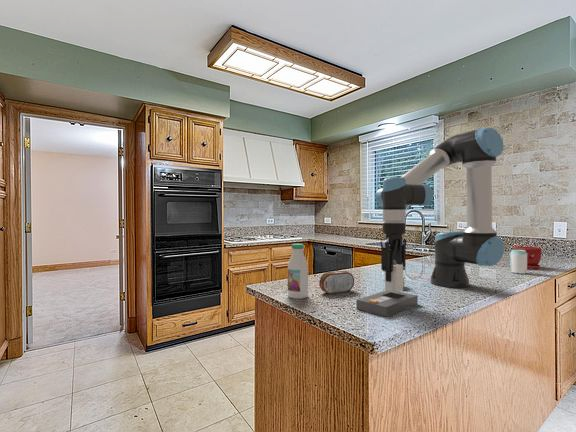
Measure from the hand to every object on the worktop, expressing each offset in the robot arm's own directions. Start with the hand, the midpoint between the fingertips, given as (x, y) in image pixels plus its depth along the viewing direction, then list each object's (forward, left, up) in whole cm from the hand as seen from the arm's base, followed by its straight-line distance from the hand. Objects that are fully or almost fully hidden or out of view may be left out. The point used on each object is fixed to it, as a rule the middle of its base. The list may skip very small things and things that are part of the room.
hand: (393, 289), depth 109 cm
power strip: (+4, 0, -5) cm, 6 cm away
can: (-98, +15, -5) cm, 99 cm away
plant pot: (-120, +14, -5) cm, 121 cm away
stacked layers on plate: (-23, -12, -6) cm, 27 cm away
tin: (+2, -23, -5) cm, 24 cm away
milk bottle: (+18, -29, -5) cm, 35 cm away
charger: (0, 0, 0) cm, 0 cm away
